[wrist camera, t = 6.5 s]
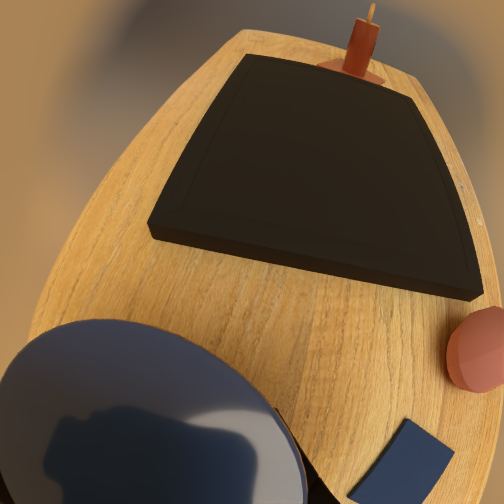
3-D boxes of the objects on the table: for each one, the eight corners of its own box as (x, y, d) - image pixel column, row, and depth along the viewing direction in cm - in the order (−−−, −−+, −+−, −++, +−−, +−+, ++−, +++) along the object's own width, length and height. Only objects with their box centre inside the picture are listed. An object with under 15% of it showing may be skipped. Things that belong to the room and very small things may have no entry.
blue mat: (402, 521, 11) (406, 523, 11) (346, 496, 13) (349, 498, 13) (451, 451, 14) (455, 451, 14) (404, 418, 17) (408, 418, 16)
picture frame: (152, 238, 23) (470, 301, 22) (146, 222, 21) (484, 293, 20) (245, 64, 43) (407, 107, 42) (246, 53, 41) (411, 98, 40)
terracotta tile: (367, 91, 43) (368, 88, 42) (316, 66, 46) (316, 64, 45) (384, 82, 48) (385, 80, 47) (340, 60, 51) (341, 58, 50)
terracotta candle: (359, 78, 44) (382, 6, 29) (338, 68, 46) (357, -3, 30) (367, 75, 47) (389, 9, 31) (347, 65, 48) (366, 0, 32)
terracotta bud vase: (486, 374, 18) (574, 339, 8) (445, 412, 17) (552, 391, 6) (466, 312, 22) (548, 257, 11) (422, 341, 20) (525, 286, 10)
